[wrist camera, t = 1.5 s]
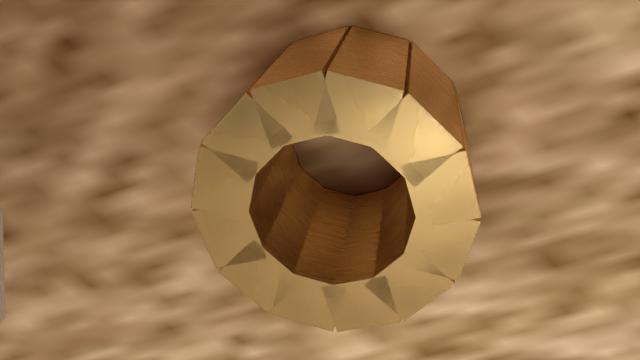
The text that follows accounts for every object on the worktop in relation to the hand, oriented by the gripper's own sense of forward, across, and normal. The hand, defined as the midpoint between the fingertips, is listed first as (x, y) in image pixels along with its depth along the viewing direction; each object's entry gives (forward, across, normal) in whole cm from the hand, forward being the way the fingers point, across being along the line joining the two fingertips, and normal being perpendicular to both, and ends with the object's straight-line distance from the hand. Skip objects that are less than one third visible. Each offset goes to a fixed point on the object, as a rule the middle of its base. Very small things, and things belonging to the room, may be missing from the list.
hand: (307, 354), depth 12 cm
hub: (+12, 0, 0) cm, 12 cm away
